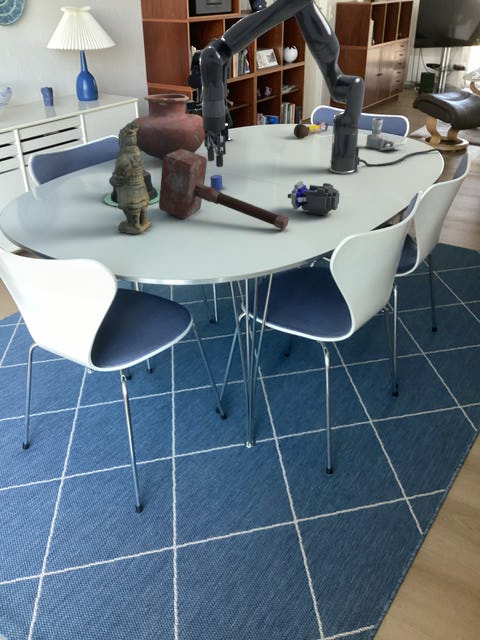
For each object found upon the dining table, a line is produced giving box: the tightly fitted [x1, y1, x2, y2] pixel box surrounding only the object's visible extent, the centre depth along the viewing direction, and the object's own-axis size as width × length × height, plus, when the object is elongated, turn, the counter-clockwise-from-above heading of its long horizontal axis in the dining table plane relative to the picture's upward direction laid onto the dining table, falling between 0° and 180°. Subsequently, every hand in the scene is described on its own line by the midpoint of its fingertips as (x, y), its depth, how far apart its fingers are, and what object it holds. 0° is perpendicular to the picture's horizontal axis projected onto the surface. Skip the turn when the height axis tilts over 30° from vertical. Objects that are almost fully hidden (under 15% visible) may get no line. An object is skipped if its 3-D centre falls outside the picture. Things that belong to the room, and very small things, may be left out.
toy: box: [287, 180, 341, 216], centre depth 168 cm, size 9×9×15 cm
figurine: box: [293, 119, 329, 139], centre depth 263 cm, size 13×8×25 cm
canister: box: [209, 174, 223, 191], centre depth 193 cm, size 4×4×4 cm
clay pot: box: [131, 93, 205, 161], centre depth 222 cm, size 30×30×25 cm
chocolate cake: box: [103, 168, 160, 207], centre depth 186 cm, size 15×19×20 cm
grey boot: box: [365, 117, 406, 152], centre depth 234 cm, size 9×12×15 cm
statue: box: [108, 120, 153, 235], centre depth 154 cm, size 11×9×30 cm
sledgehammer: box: [158, 149, 290, 231], centre depth 163 cm, size 17×10×40 cm
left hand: (205, 124), depth 237 cm, fingers open, 9 cm apart
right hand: (215, 163), depth 190 cm, fingers open, 8 cm apart
